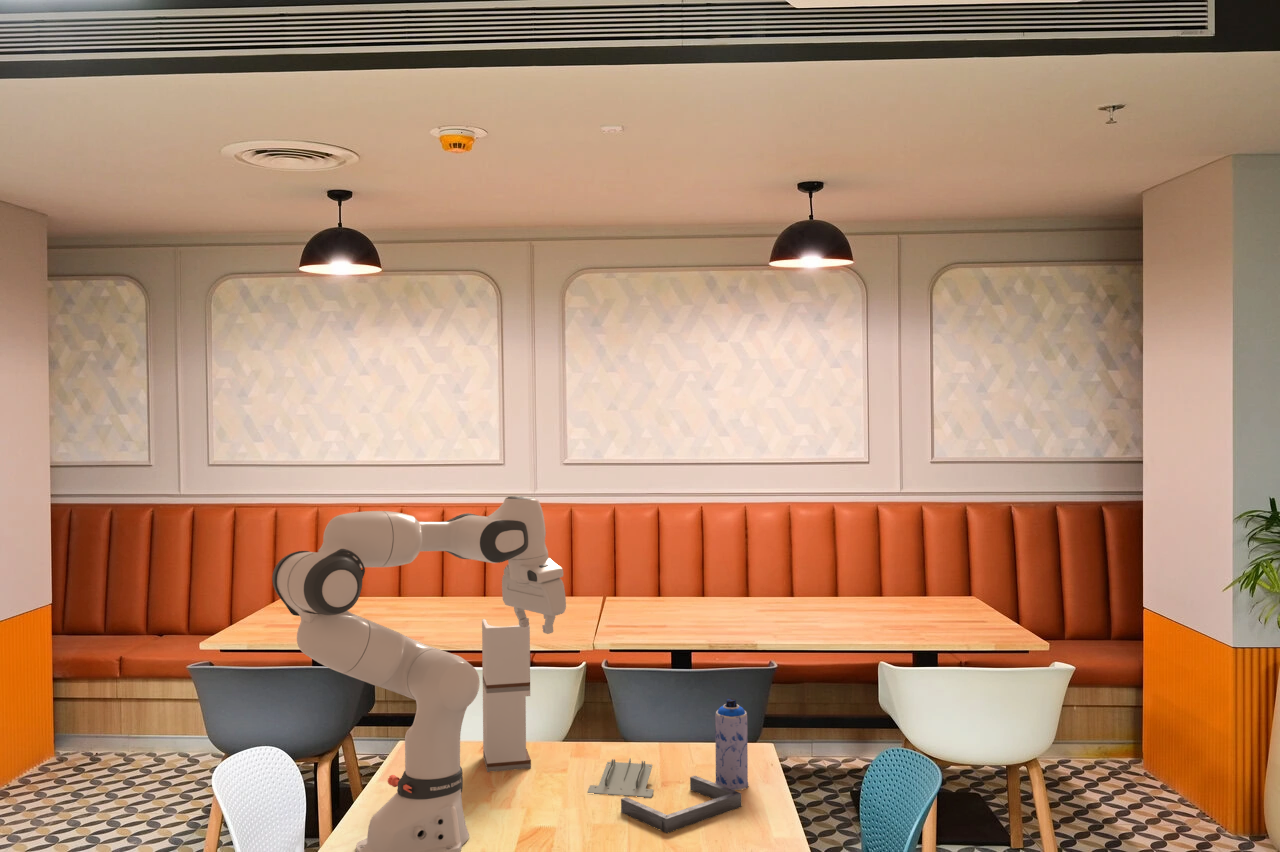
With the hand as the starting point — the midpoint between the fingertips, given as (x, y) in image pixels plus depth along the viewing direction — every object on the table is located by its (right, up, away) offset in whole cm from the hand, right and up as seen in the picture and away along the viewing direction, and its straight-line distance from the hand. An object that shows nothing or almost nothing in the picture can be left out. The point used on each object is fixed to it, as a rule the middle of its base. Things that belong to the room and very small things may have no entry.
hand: (536, 629), depth 231 cm
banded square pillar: (-10, -39, +30) cm, 51 cm away
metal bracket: (+19, -40, +13) cm, 46 cm away
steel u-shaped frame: (+32, -39, -1) cm, 50 cm away
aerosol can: (+44, -39, +13) cm, 61 cm away
